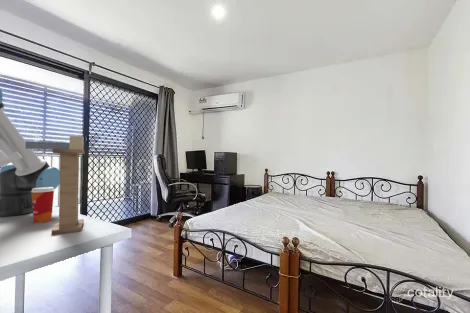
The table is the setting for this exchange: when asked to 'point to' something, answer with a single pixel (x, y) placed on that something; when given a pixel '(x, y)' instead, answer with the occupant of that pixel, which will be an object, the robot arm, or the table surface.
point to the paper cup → (42, 204)
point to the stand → (68, 192)
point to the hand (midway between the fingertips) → (12, 154)
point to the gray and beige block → (58, 144)
